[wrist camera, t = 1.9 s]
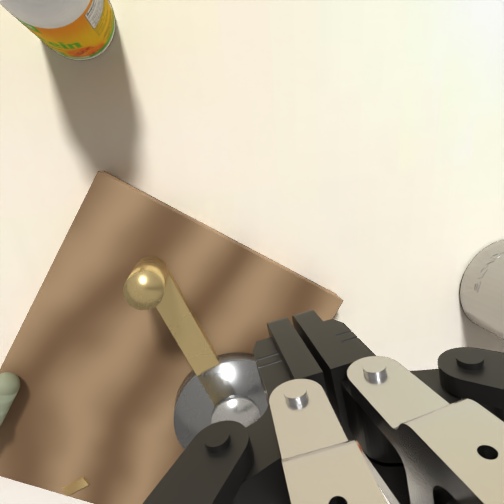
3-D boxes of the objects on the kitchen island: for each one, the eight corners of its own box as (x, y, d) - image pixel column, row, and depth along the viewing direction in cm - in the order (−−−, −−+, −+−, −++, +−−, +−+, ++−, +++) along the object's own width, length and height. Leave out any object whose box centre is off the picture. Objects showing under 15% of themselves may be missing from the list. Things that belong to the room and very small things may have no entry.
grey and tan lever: (306, 421, 33) (330, 472, 27) (207, 473, 33) (211, 537, 27) (205, 223, 28) (208, 237, 22) (85, 283, 27) (56, 312, 22)
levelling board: (334, 293, 33) (356, 312, 29) (200, 515, 36) (201, 563, 32) (104, 171, 28) (88, 171, 24) (-32, 444, 31) (-69, 489, 26)
